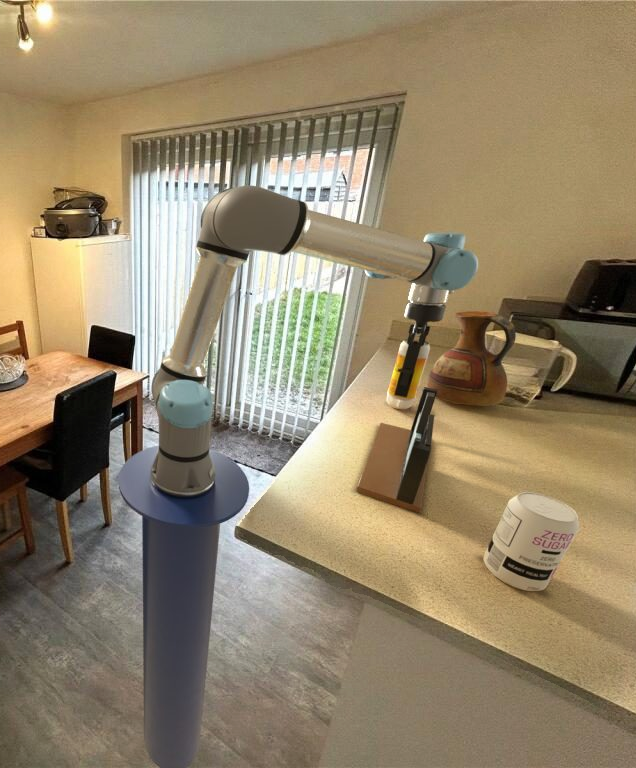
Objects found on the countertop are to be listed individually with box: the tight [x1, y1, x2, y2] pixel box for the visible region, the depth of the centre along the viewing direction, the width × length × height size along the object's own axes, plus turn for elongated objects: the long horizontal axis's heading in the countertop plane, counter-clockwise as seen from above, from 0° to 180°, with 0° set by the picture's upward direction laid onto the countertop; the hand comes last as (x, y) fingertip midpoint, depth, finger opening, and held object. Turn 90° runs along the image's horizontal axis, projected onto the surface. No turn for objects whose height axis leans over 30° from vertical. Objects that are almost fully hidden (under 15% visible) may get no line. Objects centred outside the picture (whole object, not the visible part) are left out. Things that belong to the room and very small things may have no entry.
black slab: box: [402, 392, 435, 478], centre depth 89 cm, size 1×16×20 cm, turn 142°
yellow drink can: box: [387, 338, 431, 401], centre depth 99 cm, size 6×6×15 cm
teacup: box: [386, 388, 416, 410], centre depth 126 cm, size 10×8×5 cm
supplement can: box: [483, 491, 581, 592], centre depth 66 cm, size 8×8×15 cm
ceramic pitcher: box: [427, 310, 517, 407], centre depth 125 cm, size 20×20×30 cm
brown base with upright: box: [355, 386, 438, 514], centre depth 97 cm, size 12×37×15 cm, turn 142°
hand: (401, 391), depth 102 cm, fingers closed on yellow drink can, 6 cm apart
